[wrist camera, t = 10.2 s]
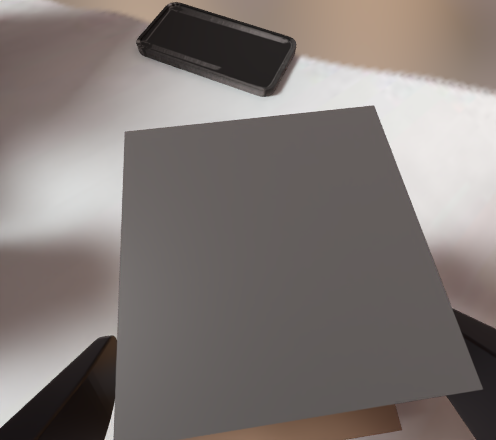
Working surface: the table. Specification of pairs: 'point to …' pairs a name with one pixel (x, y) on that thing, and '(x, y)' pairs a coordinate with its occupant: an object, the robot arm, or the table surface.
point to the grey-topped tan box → (274, 278)
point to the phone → (218, 48)
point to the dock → (321, 427)
